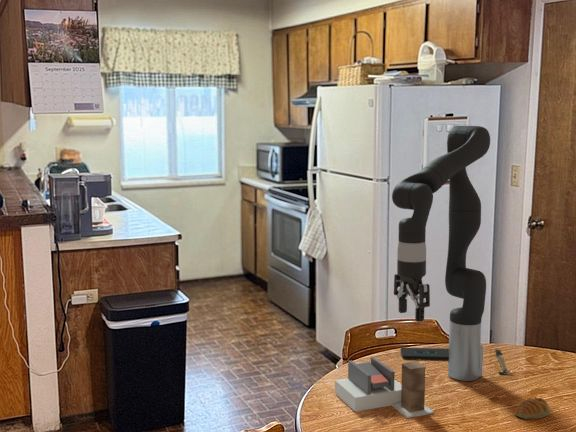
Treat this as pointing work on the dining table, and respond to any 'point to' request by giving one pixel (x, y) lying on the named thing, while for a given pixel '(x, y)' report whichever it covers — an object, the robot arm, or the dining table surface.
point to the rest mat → (412, 414)
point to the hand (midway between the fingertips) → (410, 316)
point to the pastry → (533, 409)
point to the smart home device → (425, 353)
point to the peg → (413, 386)
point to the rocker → (374, 375)
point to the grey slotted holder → (367, 388)
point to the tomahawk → (502, 363)
